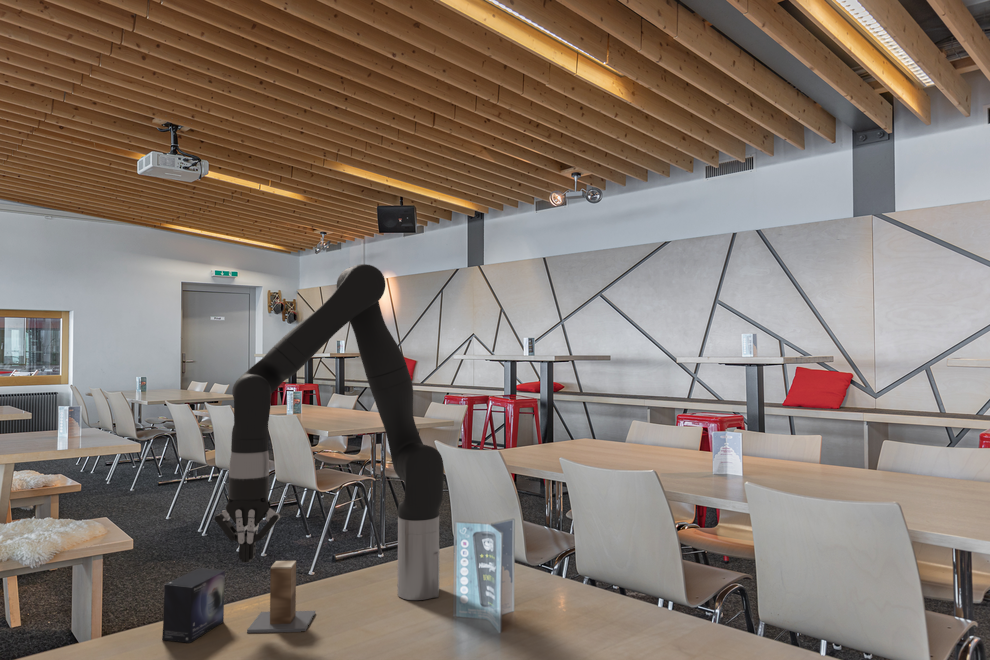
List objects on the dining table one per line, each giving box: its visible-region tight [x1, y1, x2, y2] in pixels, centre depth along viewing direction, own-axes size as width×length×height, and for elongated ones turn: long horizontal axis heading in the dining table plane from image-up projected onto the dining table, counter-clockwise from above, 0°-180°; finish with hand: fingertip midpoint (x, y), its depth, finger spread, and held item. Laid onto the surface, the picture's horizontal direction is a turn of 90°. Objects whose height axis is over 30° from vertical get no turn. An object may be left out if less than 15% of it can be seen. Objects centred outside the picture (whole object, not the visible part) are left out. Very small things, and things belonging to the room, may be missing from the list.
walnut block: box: [269, 560, 297, 624], centre depth 132 cm, size 4×4×11 cm
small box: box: [161, 567, 226, 644], centre depth 128 cm, size 11×6×10 cm, turn 168°
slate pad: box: [246, 610, 316, 634], centre depth 131 cm, size 11×9×1 cm
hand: (246, 561), depth 132 cm, fingers closed
